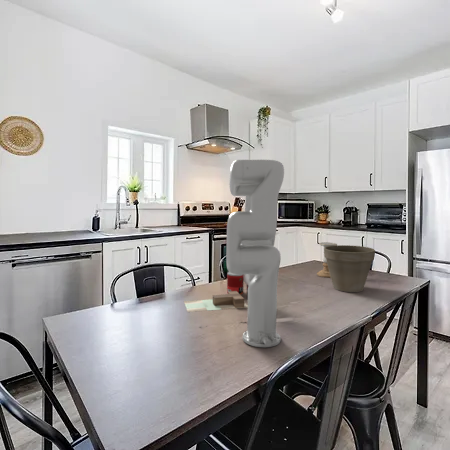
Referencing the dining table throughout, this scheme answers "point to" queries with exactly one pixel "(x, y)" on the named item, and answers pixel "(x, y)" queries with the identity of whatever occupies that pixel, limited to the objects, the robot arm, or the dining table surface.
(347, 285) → the plant pot
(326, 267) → the candle holder
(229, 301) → the t block
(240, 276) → the canned food
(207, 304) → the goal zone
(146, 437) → the dining table surface
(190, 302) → the board
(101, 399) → the dining table surface
